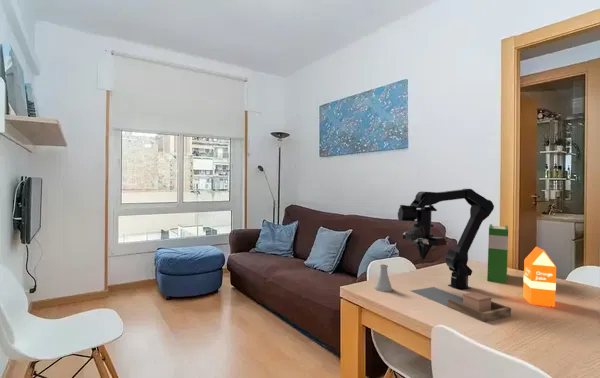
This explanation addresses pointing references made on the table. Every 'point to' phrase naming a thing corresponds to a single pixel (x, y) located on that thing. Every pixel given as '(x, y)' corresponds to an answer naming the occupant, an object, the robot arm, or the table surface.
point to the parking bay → (495, 312)
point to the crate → (477, 301)
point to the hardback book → (497, 254)
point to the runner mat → (438, 295)
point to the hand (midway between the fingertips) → (422, 258)
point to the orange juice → (539, 279)
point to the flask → (383, 280)
